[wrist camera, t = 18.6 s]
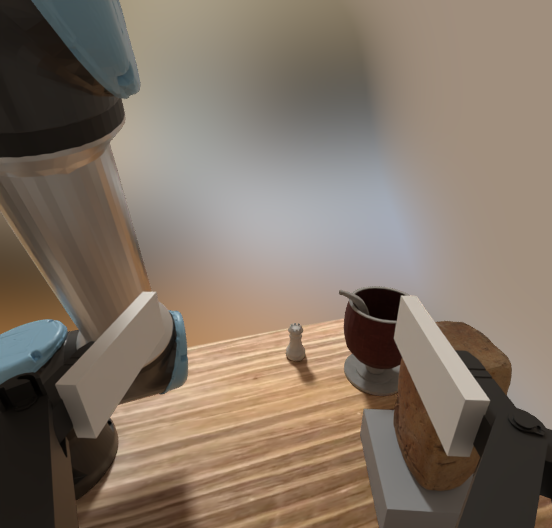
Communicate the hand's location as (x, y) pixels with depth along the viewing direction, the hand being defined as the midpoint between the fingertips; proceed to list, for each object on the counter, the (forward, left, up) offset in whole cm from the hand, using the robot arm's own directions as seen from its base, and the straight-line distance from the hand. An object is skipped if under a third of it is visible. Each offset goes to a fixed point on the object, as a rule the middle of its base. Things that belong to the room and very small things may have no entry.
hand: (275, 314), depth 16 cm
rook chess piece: (+1, +41, -38) cm, 56 cm away
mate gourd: (+17, +36, -38) cm, 55 cm away
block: (+19, +15, -32) cm, 40 cm away
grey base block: (+19, +15, -38) cm, 45 cm away
